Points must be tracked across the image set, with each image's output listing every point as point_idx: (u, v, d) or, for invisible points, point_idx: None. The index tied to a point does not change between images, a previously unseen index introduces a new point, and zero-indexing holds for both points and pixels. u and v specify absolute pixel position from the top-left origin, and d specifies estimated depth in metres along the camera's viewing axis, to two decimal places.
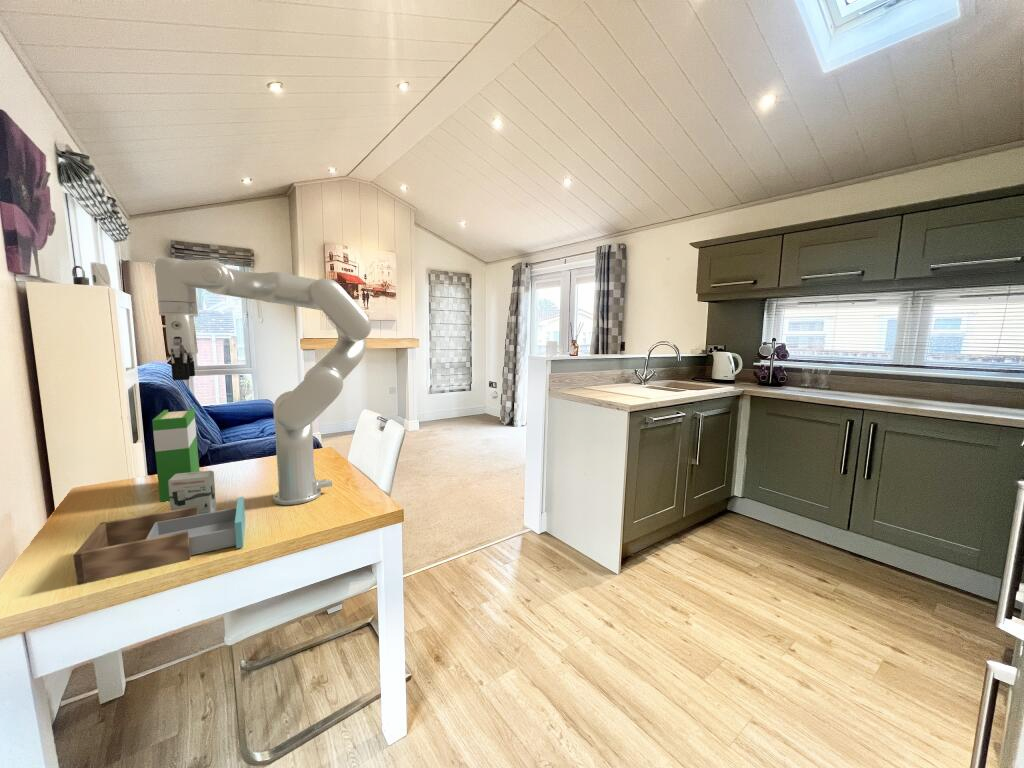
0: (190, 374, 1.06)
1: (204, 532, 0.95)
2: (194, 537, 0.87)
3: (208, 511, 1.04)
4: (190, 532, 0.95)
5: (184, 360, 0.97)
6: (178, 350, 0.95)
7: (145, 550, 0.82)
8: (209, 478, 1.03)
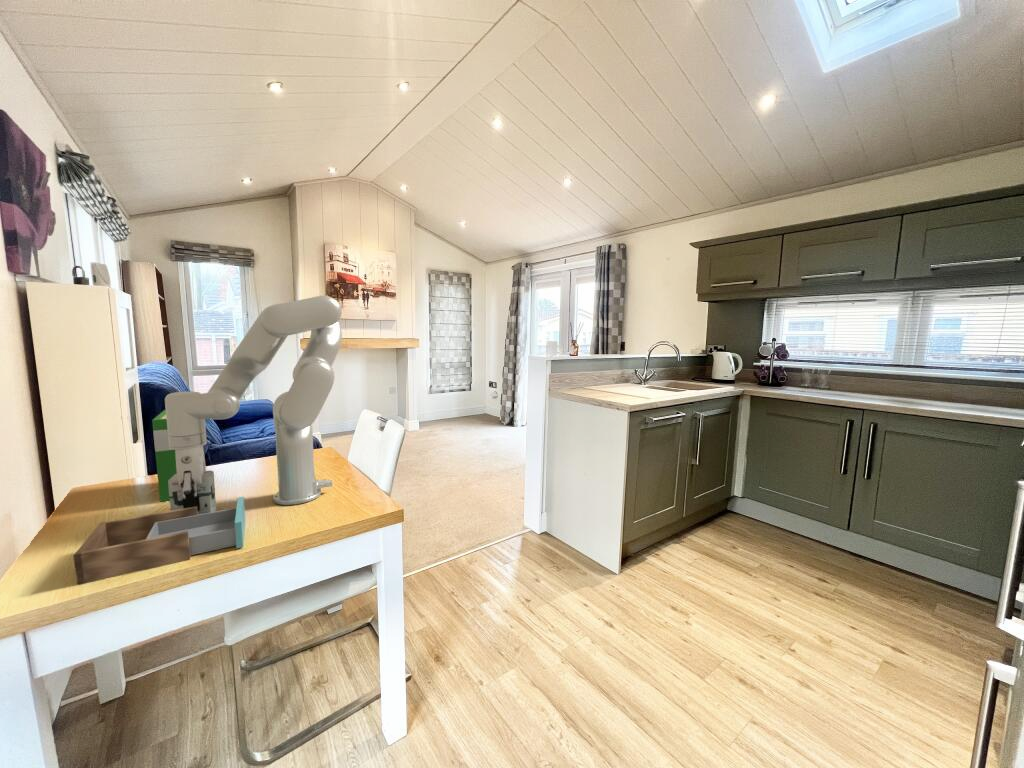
0: None
1: (204, 532, 0.95)
2: (194, 537, 0.87)
3: (208, 511, 1.04)
4: (190, 532, 0.95)
5: (195, 495, 1.01)
6: (189, 491, 0.98)
7: (145, 550, 0.82)
8: (208, 478, 1.03)
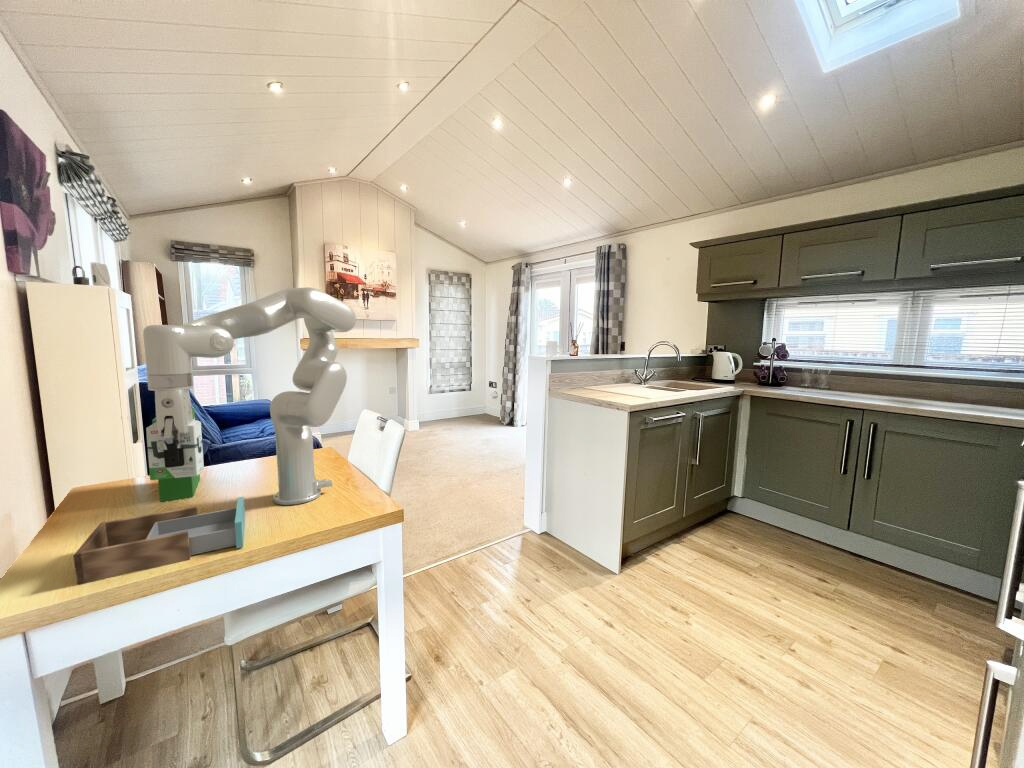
0: None
1: (204, 532, 0.95)
2: (194, 537, 0.87)
3: (193, 466, 0.89)
4: (190, 532, 0.95)
5: (178, 446, 0.86)
6: (171, 439, 0.83)
7: (145, 550, 0.82)
8: (194, 427, 0.88)
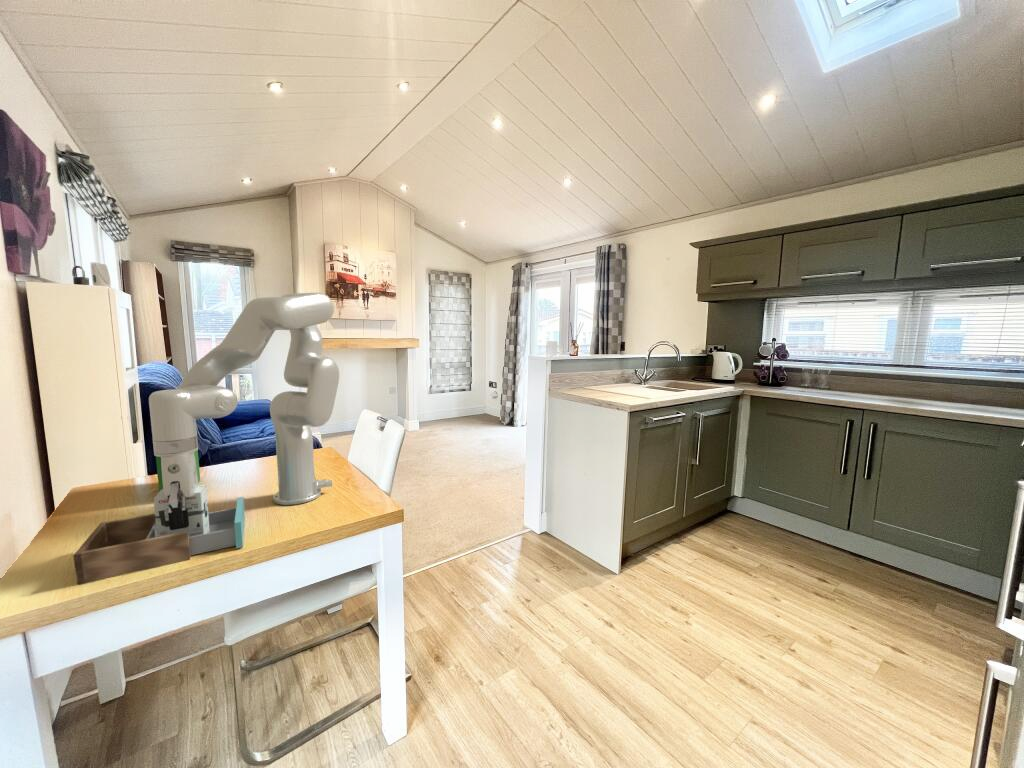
0: None
1: None
2: (194, 537, 0.87)
3: (201, 531, 0.90)
4: None
5: (183, 508, 0.86)
6: (176, 501, 0.83)
7: (145, 550, 0.82)
8: (201, 493, 0.90)
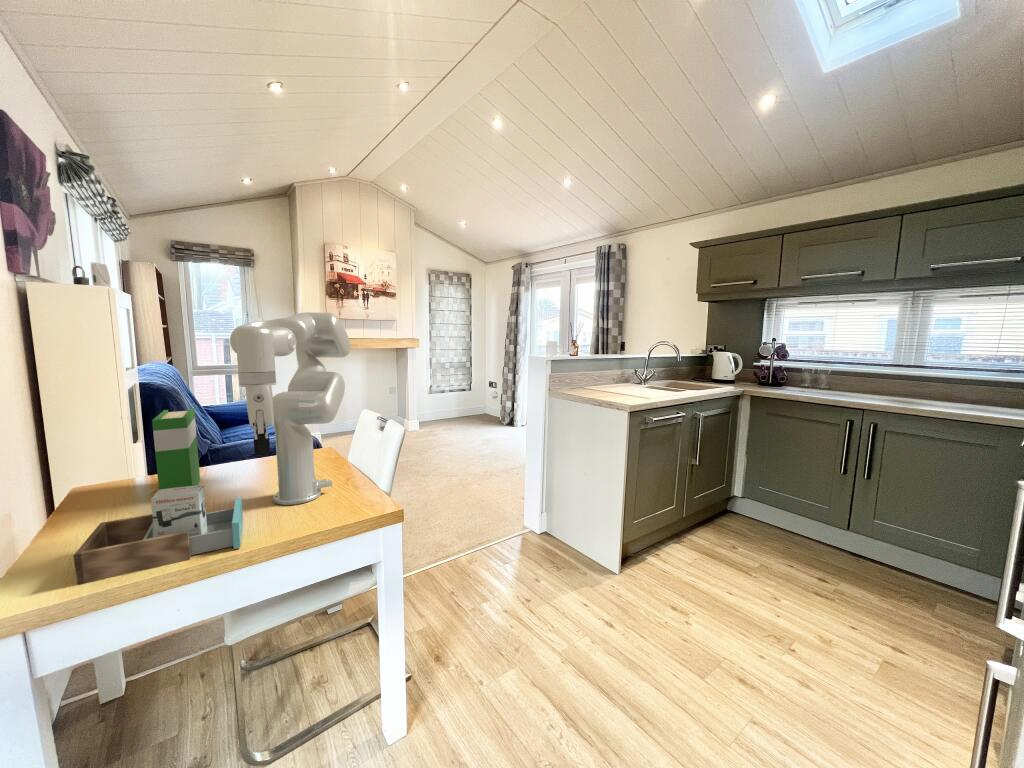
0: None
1: None
2: (191, 538, 0.87)
3: (198, 532, 0.90)
4: None
5: (266, 437, 0.96)
6: (263, 433, 0.93)
7: (145, 550, 0.82)
8: (199, 494, 0.90)
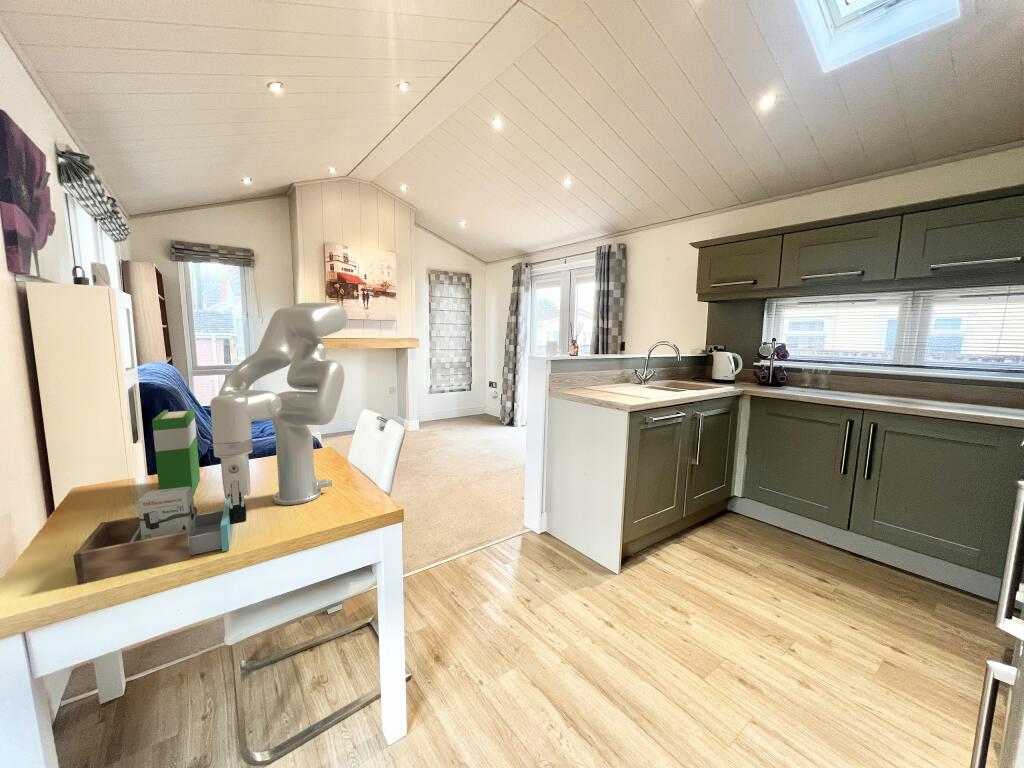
0: None
1: None
2: None
3: None
4: None
5: (242, 506, 0.95)
6: None
7: (145, 550, 0.82)
8: (187, 495, 0.89)
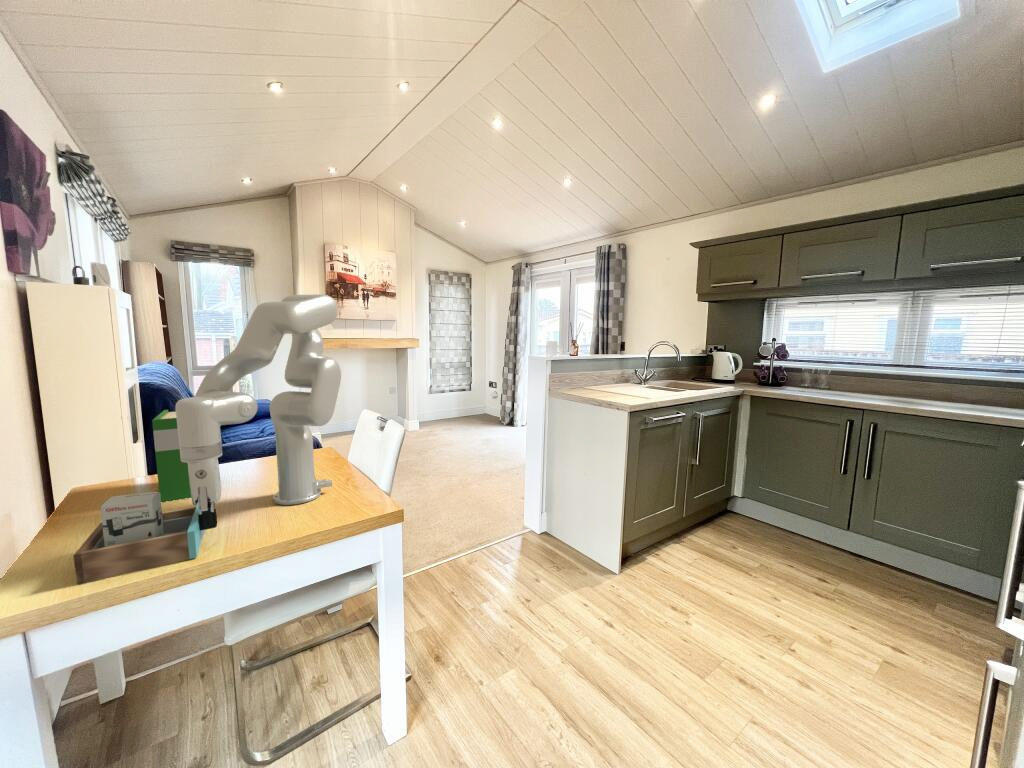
0: None
1: None
2: None
3: None
4: None
5: (212, 511, 0.92)
6: (207, 510, 0.89)
7: (145, 550, 0.82)
8: (153, 501, 0.86)
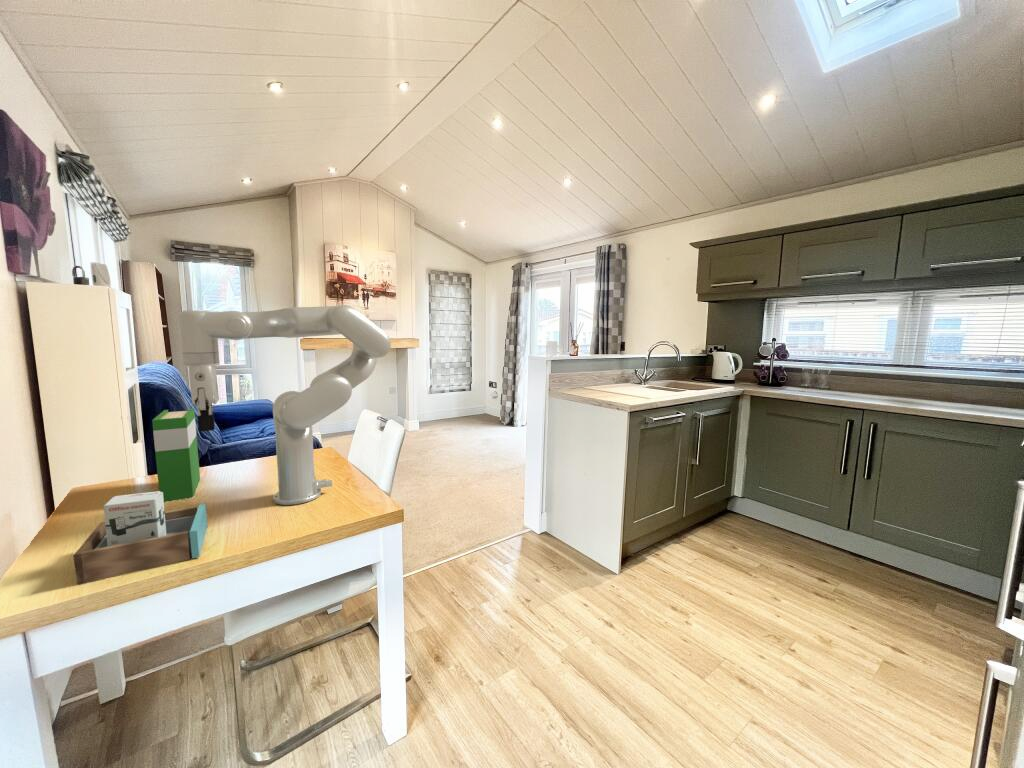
0: None
1: None
2: None
3: None
4: None
5: (210, 414, 1.03)
6: (205, 410, 1.00)
7: (145, 550, 0.82)
8: (156, 500, 0.86)
